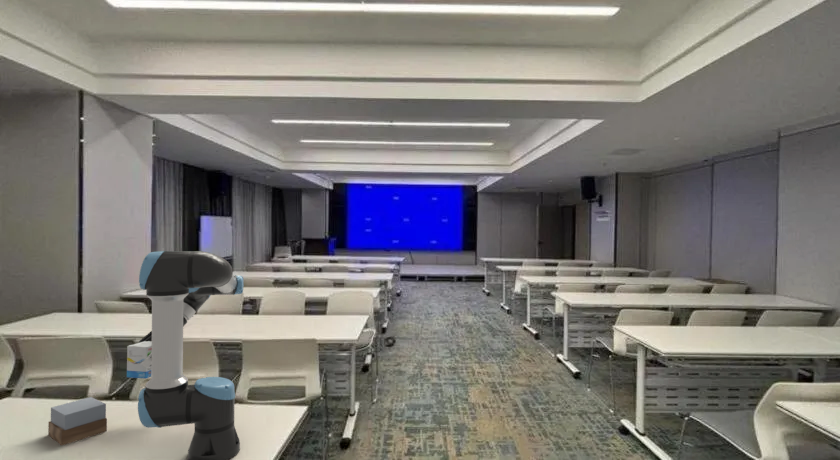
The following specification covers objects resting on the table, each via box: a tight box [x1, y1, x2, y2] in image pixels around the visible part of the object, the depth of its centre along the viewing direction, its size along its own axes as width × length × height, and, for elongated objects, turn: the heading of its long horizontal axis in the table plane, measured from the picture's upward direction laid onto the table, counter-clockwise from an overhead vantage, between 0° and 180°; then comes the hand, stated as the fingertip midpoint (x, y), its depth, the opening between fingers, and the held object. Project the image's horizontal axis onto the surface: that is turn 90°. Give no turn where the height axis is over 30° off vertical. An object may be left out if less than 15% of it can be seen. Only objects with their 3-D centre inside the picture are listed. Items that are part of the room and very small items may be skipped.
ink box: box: [126, 341, 152, 379], centre depth 169 cm, size 8×8×12 cm
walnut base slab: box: [47, 417, 108, 446], centre depth 158 cm, size 13×13×5 cm
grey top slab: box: [50, 396, 107, 430], centre depth 158 cm, size 12×12×5 cm
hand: (136, 363), depth 166 cm, fingers closed on ink box, 11 cm apart
